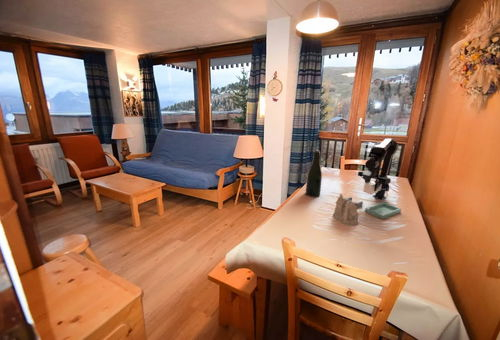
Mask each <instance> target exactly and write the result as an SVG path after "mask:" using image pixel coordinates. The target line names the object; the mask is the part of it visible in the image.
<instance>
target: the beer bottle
mask: <svg viewBox="0 0 500 340" xmlns="http://www.w3.org/2000/svg"><path fill="white" fill-rule="evenodd" d="M320 157H321V152H320V150H318V149H316V150H314V152H313V159H312V161H311V165H310V166H309V169H308V171H307V176H306V184H305V194H306V195H307V196H309V197H312V198H313V197H315V198H316V197H320V195H321V191H322V182H323V181H322V180H323V179H322V177H323V171H322V169H321V163H320V161H321V160H320Z"/></svg>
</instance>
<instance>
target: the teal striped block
mask: <svg viewBox="0 0 500 340" xmlns="http://www.w3.org/2000/svg"><path fill="white" fill-rule="evenodd" d="M381 186H382V184H381V185H380V186H379V188H378V189H377V190H376V191H374V189H375V181H372V180H371V181H370V182H366V183H365V182H364V185H363V190H362V192H364V193H366V194H369V195H372V194H373V195H375V193H377V192H378V191H381Z"/></svg>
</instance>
